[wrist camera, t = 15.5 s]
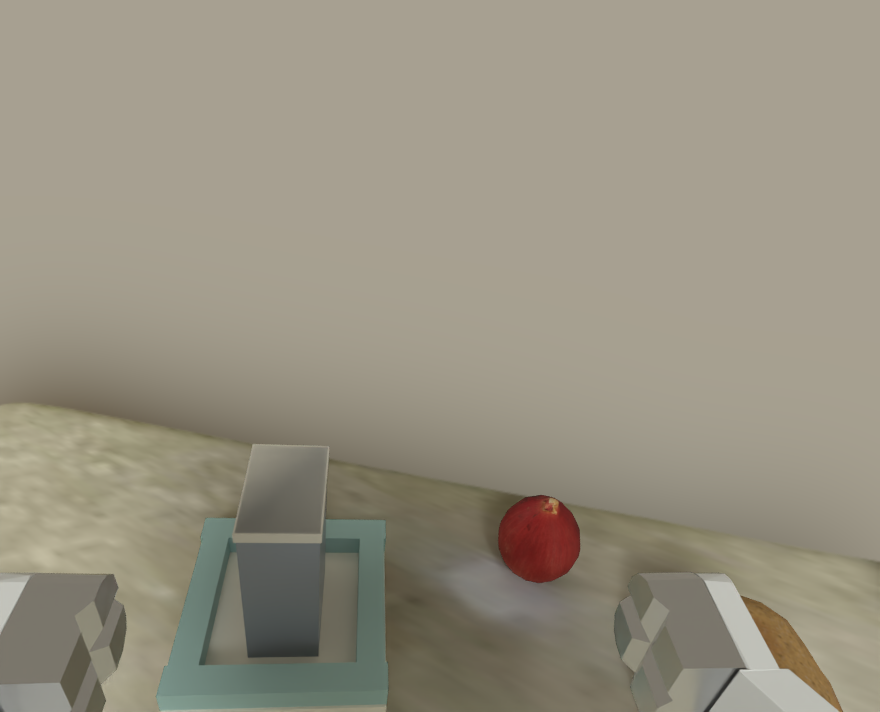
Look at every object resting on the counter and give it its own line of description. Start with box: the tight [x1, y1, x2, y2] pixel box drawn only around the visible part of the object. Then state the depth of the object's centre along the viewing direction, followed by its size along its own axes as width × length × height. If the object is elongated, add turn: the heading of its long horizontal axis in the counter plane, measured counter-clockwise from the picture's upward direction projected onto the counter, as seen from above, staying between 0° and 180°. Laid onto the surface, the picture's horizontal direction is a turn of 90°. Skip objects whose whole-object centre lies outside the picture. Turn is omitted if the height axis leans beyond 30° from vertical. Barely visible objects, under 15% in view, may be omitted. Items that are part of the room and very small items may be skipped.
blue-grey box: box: [232, 444, 330, 658], centre depth 35 cm, size 4×6×11 cm
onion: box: [498, 495, 580, 583], centre depth 44 cm, size 6×6×8 cm
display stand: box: [156, 518, 388, 712], centre depth 39 cm, size 12×12×4 cm
